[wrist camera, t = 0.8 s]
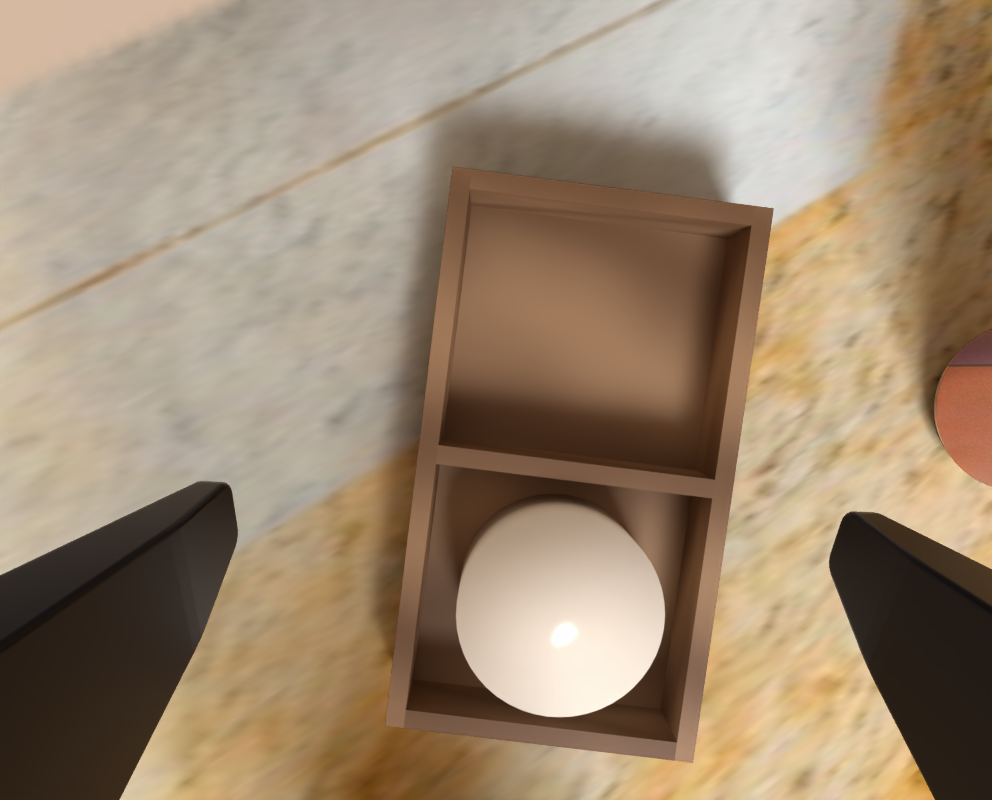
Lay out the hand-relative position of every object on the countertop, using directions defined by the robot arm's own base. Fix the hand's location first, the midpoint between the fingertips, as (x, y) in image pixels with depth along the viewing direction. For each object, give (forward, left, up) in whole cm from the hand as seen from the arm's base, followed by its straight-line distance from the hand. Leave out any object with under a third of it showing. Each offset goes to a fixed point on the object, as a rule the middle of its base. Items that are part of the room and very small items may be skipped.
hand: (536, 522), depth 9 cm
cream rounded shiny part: (-5, +1, -13) cm, 14 cm away
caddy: (-2, -1, -14) cm, 14 cm away
